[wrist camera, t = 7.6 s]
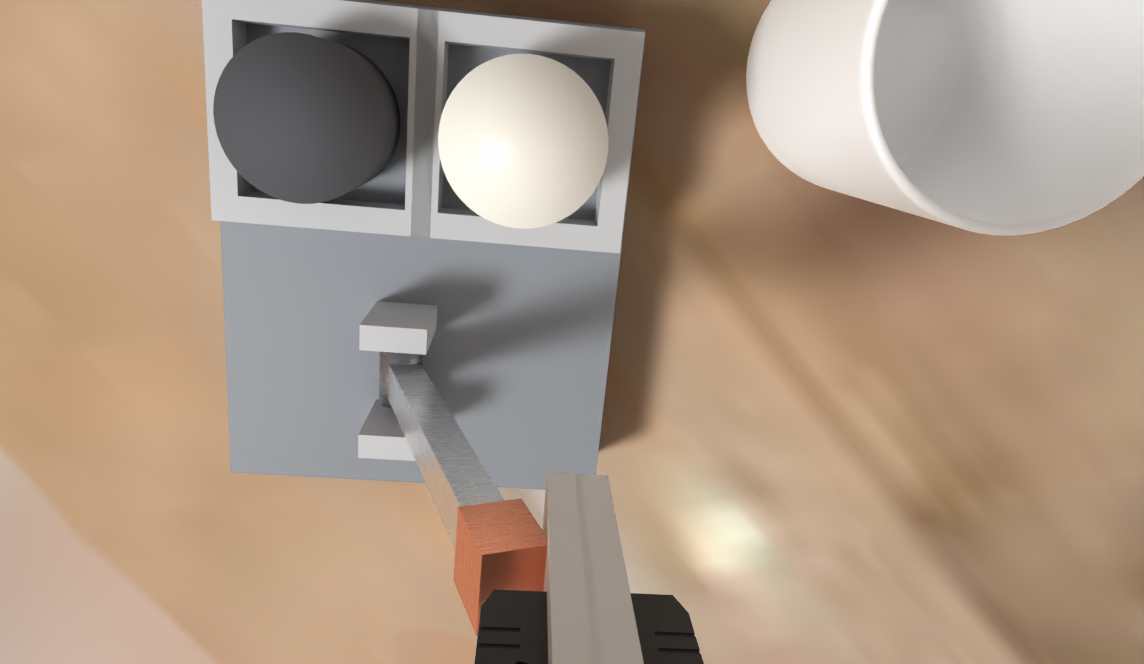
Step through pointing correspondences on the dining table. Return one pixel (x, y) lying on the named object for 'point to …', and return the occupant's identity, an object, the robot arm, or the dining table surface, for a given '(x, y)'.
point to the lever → (463, 491)
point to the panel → (419, 264)
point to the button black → (305, 117)
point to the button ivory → (523, 141)
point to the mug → (956, 104)
